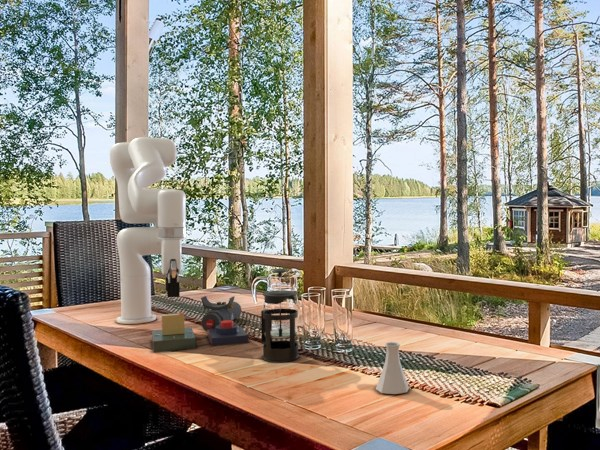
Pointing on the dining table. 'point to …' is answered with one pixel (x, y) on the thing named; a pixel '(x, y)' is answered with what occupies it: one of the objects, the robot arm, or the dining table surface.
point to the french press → (280, 349)
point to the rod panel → (173, 341)
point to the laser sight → (219, 312)
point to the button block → (227, 335)
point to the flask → (392, 372)
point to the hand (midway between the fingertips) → (172, 293)
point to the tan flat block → (173, 324)
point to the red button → (226, 323)
